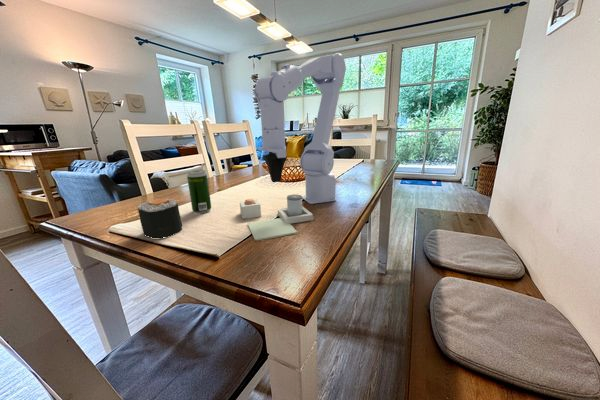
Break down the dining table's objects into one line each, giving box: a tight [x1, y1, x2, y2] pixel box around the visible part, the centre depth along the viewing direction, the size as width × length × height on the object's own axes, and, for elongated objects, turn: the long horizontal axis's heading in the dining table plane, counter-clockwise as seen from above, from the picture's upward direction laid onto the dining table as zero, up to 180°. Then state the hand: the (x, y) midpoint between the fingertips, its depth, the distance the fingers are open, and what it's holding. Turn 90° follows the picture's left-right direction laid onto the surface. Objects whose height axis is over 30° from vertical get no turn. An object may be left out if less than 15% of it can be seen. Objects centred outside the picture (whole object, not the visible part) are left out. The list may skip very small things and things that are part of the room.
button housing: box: [239, 199, 262, 219], centre depth 70 cm, size 5×5×4 cm
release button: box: [244, 198, 255, 205], centre depth 70 cm, size 2×2×2 cm
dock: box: [277, 205, 314, 225], centre depth 68 cm, size 8×8×2 cm
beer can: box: [186, 169, 212, 215], centre depth 73 cm, size 5×5×12 cm
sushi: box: [136, 198, 183, 239], centre depth 60 cm, size 8×8×8 cm
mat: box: [247, 217, 298, 242], centre depth 61 cm, size 10×10×1 cm
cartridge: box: [286, 193, 303, 217], centre depth 67 cm, size 4×4×6 cm
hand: (276, 181), depth 66 cm, fingers closed
